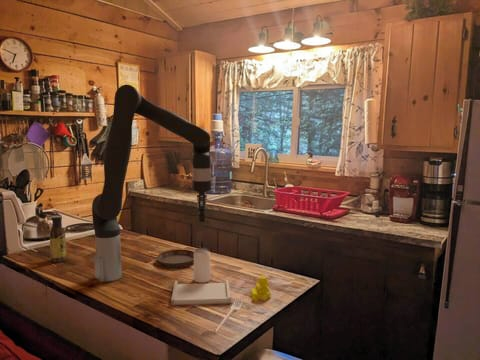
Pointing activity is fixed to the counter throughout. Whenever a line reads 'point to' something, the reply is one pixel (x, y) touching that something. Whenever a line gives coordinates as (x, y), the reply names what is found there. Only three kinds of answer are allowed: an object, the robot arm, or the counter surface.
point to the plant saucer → (176, 258)
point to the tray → (201, 294)
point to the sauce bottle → (57, 240)
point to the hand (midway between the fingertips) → (202, 221)
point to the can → (201, 265)
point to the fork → (231, 312)
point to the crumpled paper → (261, 289)
